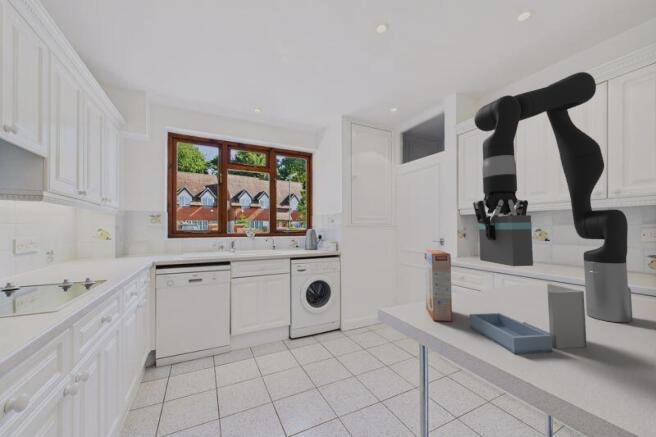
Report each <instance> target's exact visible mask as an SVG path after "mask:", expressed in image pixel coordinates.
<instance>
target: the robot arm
mask: <svg viewBox="0 0 656 437" xmlns="http://www.w3.org/2000/svg"><path fill="white" fill-rule="evenodd" d="M596 91H597V84H596V80H595V78H594V77H593V75H591V73H589V72H585V71H580V72H576V73H573V74H570V75H568V76H566V77H564V78H562V79H559V80H558V81H555V82H553V83H551V84H549V85H548V86H545V87H541V88H537V89H533V90H529V91H526V92H522V93H518V94H516V95H505V96H501V97H499V98H497V99H495V100H493V101H492V102H490V103H488V104H485V105H484V106H482V107H481V108H479V109H478V110H477V111H476V113H475V115H474V118H473V119H474V120H473V121H474V124H475V125H474V126H476V128H477V129H478V130H480V131H482V132H492V131H493V133H492V134H491V135H490V136H488V137H487V138H485V140H483V143H482V191H483V194H484V198H483V199H482V200H476V201H473V203H472V205H473V210H474V213H475V217H476V221H477V223H478V224H479V223H481V224H484V225H485V229H486V238H487V239H488V240H495V239H496V235H495V226H493V225H494V224H495V217H497V216H499V215H501V216H515V215H527V212H528V211H527V210H528V205H529V201H528V200H527V199H526V200H525V199H524V200H521V199H518V198H517V196H516V193H517V191H518V180H517V179H518V178H517V163H516V159H515V158H516V157H515V144H514V143H515V142H514V141H515V138H516V134H517V131H518V128H519V122H520V121H523V120H527V119H530V118H533V117H535V116H538V115H540V114H543V113H546V116H547V118H548V121H549V123H550V126H551V129H552V131H553V134H554V137H555V141H556V146H557V148H558V153H559V158H560V163H561V167H562V170H563V173H564V174H563V175H564V177H565V181H566V184H567V189H568V193H569V198H570V205H571V212H572V220H573V225H574V229H575V232H576V234H577V235H578V236H579V237H580V238H582V239H585V240H604V241H603V243H602V244H603V245H602V246H600V247H597V248H594V249H591V250H586V251H584V252H583V271H584V286H585V288H584V289H585V305H586V306H585V307H586V309H585V312H586V315H587V316H588V317H591V318H594V319H596V320H600V321H606V322H614V323H629V322H631V321H633V319H634V318H633V302H632V290H631V288H630V287H629V281H628V266H627V265H628V264H627V256H628V219H627V217H626V215H625V212H623V211H622V210H620V209H598V210H596V209H595V210H593V209H592V203H591V198H592V194H593V191H594V189H595V187H596V185H597V183H599V181H600V179H601V176H602V175H603V172H604V171H605V162H604V157H603V154H602V149H601V146H600V145H599V143H598V142H597V141H596V140H595V139H594V138H592V137H591V136H589V135H588V134H587V133H586V132H584V131H583V130H581V129H580V128H578V127H577V126H576V125H575V124H574V122H573V121H572V119H571V116H570V114H569V111H568V110H570V109H573V108H576V107H578V106H580V105H583V104H585V103H588V102H589V101H590V100H592V98H594V96H595V94H596ZM486 208H487V209H486ZM490 217H491V218H490Z"/></svg>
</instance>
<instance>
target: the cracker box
mask: <svg viewBox="0 0 656 437" xmlns="http://www.w3.org/2000/svg"><path fill="white" fill-rule="evenodd" d="M451 259H452V258H451V253H449V252H446V251H443V250H440V249H426V250H424V278H425V279H424V280H425V281H424V282H425V286H424V287H425V308H426V310H427V312H428V314H429V316H430V317H431V318H432V321H437V322H438V321H439V322H453V306H452V305H453V304H452V302H453V301H452V299H453V298H452V269H451V268H452V267H451V266H452V265H451V264H452V261H451Z"/></svg>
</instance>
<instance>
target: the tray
mask: <svg viewBox="0 0 656 437" xmlns="http://www.w3.org/2000/svg"><path fill="white" fill-rule="evenodd" d="M468 317H469V328H471V329H472V330H474V331H476V332H477V333H479V334H480V335H482V336H484V337H486V338H487V339H489V340H490V341H493V342H494V343H495V344H498V345H499V346H501V347H502V348H504V349H505V350H506V351H507V350H508V352H511V353H512V354H513V355H521V354H537V353H539V354H540V353H551V352H552V353H553V348H552V336H551V335H549V334H546V333H544V332H542V331H539V330H537V329H535V328H533V327H530V326H528V325H526V324H524V323H523V322H521V321H519V320H518V319H514V318H512V317H509V316H507V315H505V314H503V313H500V312H492V313H491V312H490V313H489V312H488V313H470V314H469V316H468Z"/></svg>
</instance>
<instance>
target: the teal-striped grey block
mask: <svg viewBox="0 0 656 437" xmlns="http://www.w3.org/2000/svg"><path fill="white" fill-rule="evenodd" d="M531 215H532V214H531ZM531 215H529V214H526V215H515V216H503V215H500V216H497V217H495V224H494V225H493V226H495V235H496V239H495V240H488V239H487V238H486V229H485V225H484V224H481V223H478V232H479V234H478V235H479V237H478V238H479V255H480V256H479V257H480V258H479V259H480V261H482V262H487V263H494V264H499V265H505V266H511V267H533V266H534V257H533V254H534V253H533V235H532V231H533V230H532V228H533V227H532V224H533V223H532V216H531ZM490 218H491V217H490Z"/></svg>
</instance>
